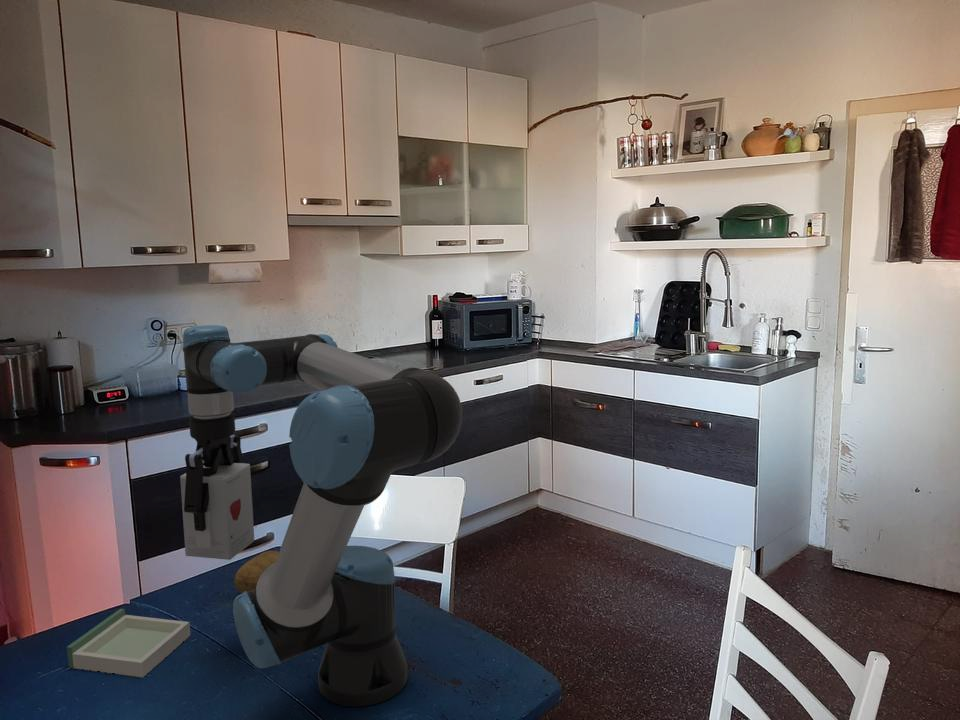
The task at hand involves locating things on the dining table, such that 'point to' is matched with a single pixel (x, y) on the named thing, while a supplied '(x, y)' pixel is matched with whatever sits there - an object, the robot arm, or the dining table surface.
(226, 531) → the supplement box
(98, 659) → the shallow square tray
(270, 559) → the potato
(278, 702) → the dining table surface
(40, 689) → the dining table surface
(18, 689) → the dining table surface
